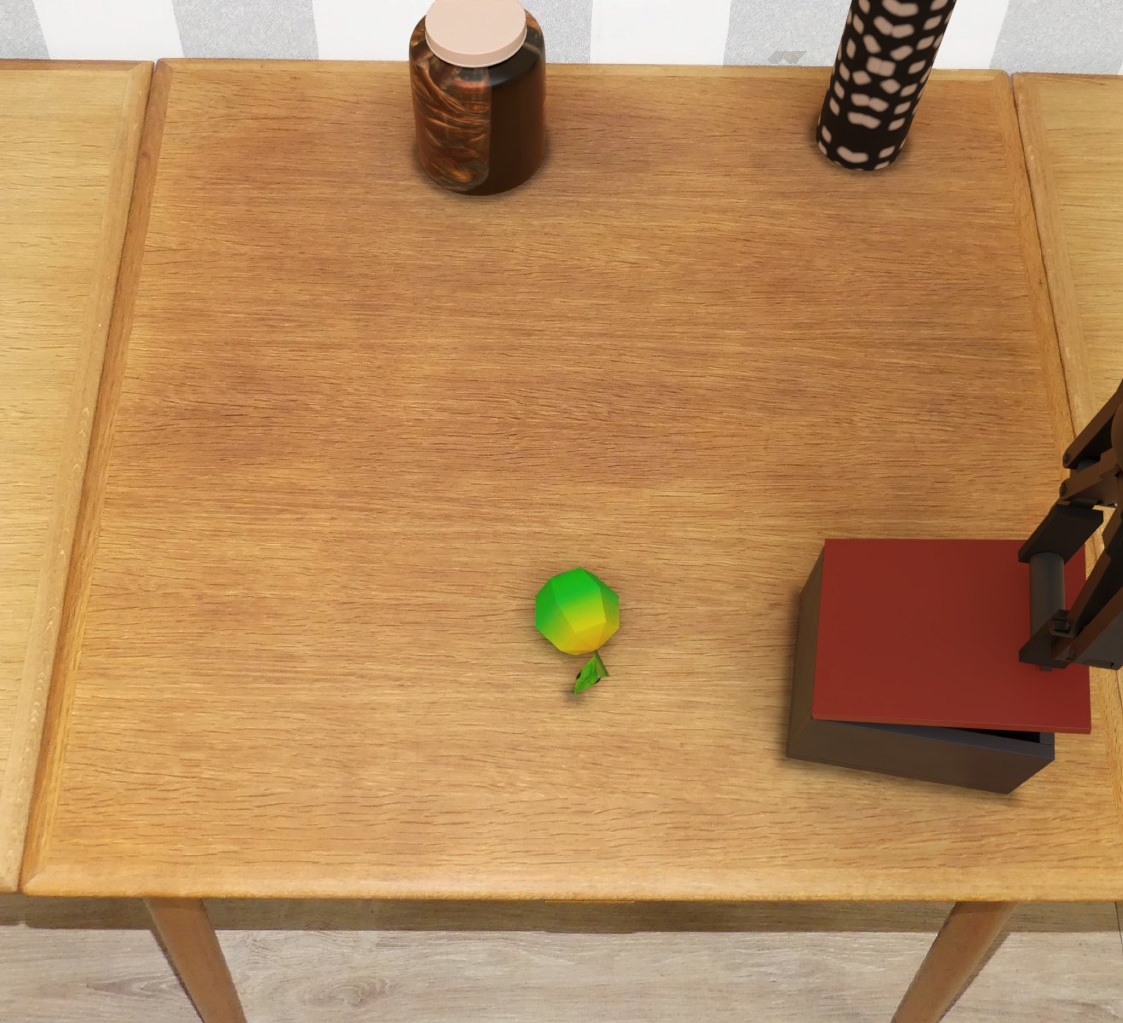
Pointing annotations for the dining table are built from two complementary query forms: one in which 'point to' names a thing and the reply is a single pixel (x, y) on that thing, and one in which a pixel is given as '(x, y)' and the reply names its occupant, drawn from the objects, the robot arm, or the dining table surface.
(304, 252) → the dining table surface
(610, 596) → the apple
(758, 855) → the dining table surface
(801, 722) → the dark storage box
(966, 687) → the lid
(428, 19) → the jar
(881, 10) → the spotted tube
